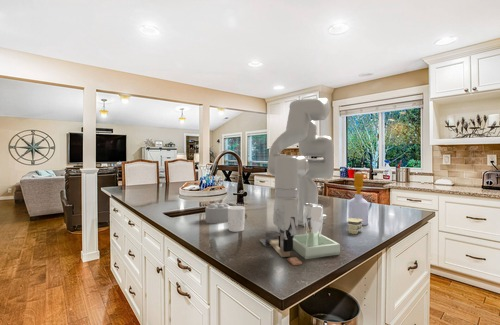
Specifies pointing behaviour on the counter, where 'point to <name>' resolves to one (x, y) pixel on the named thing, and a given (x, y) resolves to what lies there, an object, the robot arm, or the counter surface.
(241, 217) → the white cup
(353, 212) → the soap bottle
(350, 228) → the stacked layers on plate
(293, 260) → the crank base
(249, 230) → the counter surface
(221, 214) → the grey bumpy block
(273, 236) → the crank lever
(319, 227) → the beer glass
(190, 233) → the counter surface
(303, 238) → the tray
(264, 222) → the counter surface
